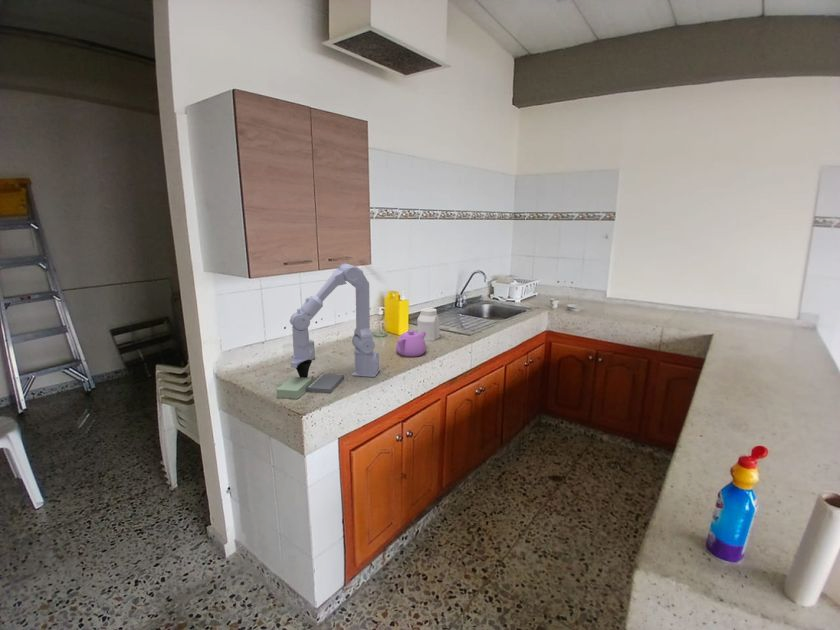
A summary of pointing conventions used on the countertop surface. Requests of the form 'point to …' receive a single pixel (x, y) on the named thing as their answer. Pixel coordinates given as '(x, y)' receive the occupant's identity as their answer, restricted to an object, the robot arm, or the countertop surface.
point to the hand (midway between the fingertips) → (303, 379)
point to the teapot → (411, 344)
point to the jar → (429, 324)
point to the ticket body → (325, 383)
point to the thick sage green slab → (294, 387)
